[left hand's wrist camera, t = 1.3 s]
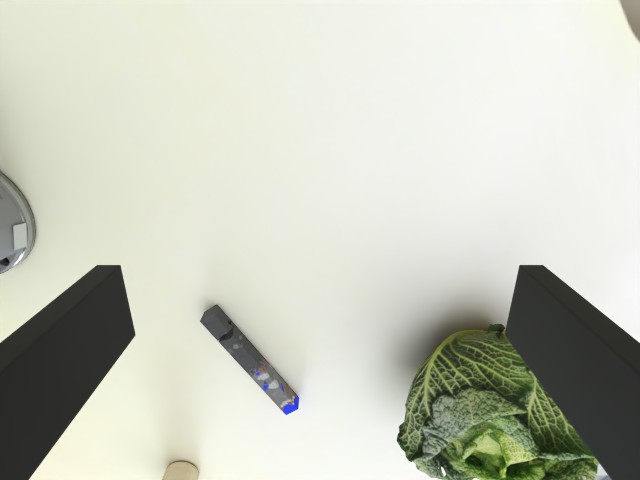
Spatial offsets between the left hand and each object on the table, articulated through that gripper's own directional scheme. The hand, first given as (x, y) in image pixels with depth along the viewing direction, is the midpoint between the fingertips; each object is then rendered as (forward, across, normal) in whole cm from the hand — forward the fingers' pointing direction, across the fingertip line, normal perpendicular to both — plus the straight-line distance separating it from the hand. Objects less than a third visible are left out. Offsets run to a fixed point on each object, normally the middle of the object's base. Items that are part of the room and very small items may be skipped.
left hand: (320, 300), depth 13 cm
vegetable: (+34, -21, +30) cm, 50 cm away
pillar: (+34, +10, +30) cm, 46 cm away
